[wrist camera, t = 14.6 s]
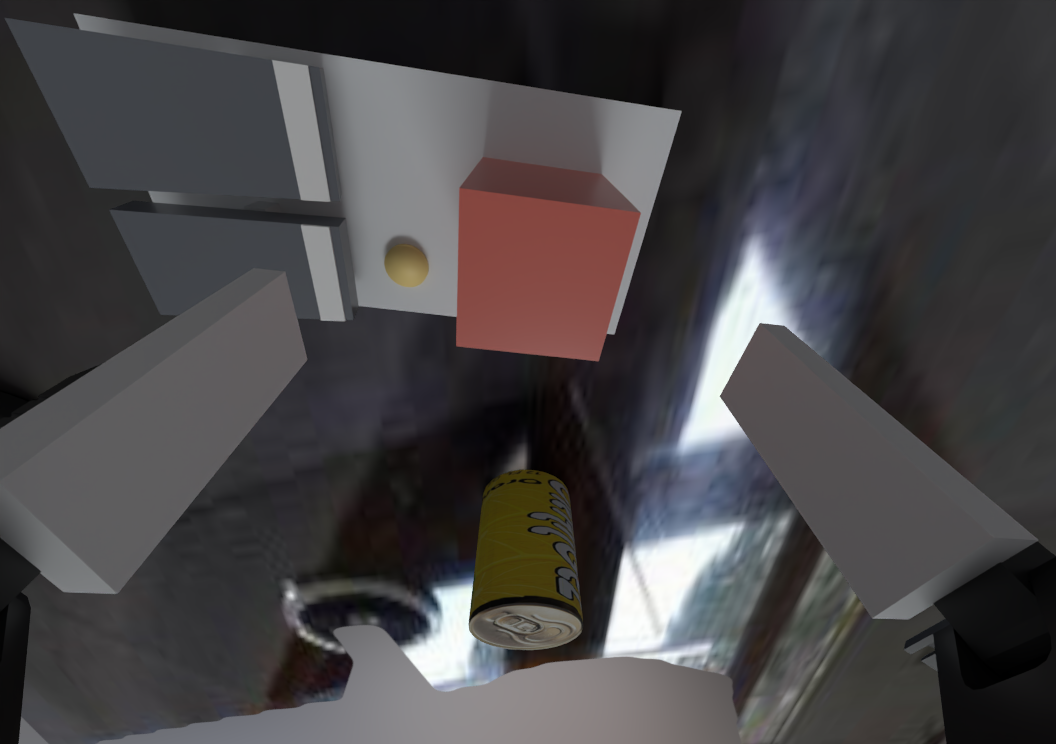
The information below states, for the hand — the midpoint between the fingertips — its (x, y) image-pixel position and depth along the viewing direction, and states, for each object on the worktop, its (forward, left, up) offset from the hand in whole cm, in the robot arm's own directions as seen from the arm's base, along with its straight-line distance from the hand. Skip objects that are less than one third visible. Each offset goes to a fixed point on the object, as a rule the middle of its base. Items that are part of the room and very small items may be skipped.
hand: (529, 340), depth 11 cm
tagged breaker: (-14, -3, -9) cm, 17 cm away
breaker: (-14, +3, -9) cm, 17 cm away
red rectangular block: (0, 0, -12) cm, 12 cm away
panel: (-7, 0, -15) cm, 16 cm away
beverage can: (+3, -28, -15) cm, 32 cm away
